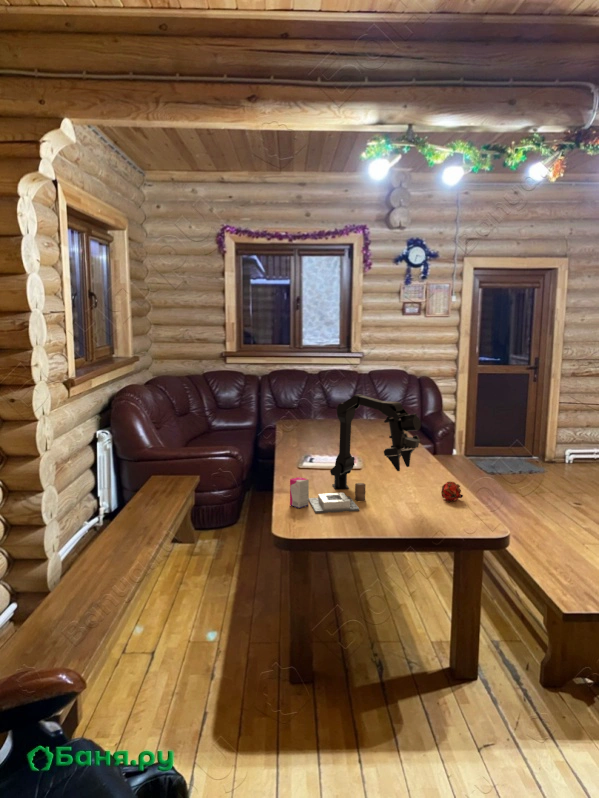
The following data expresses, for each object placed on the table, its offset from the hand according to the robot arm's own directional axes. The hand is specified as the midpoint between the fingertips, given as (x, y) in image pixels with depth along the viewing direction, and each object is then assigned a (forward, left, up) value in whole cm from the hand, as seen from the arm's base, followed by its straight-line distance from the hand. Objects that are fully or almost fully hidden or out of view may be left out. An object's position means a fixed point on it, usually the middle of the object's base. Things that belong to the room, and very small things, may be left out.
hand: (403, 469), depth 233 cm
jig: (-2, -29, -15) cm, 33 cm away
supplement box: (-4, -43, -15) cm, 46 cm away
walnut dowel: (-7, -16, -15) cm, 23 cm away
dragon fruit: (-1, +22, -15) cm, 27 cm away
